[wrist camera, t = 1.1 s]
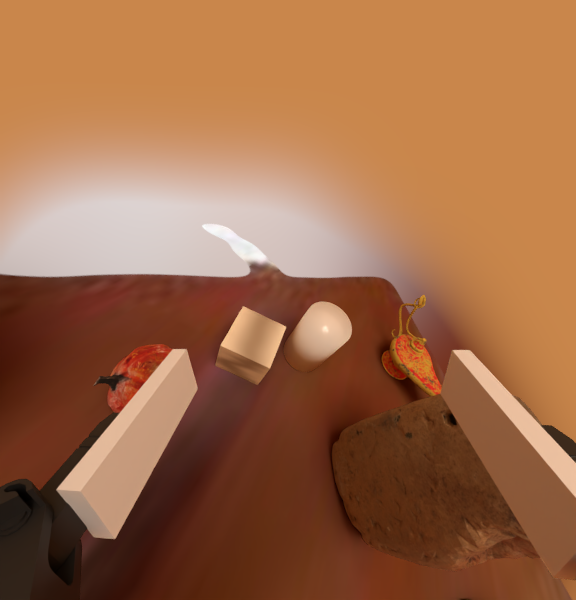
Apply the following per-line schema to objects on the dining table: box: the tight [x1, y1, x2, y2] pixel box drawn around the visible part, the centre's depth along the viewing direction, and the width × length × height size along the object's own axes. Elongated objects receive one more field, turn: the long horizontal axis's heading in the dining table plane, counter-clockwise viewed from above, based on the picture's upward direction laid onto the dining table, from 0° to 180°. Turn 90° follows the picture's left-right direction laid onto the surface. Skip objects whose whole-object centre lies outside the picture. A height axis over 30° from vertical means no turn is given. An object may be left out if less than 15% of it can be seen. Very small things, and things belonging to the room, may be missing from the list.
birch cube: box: [215, 307, 286, 385], centre depth 31 cm, size 6×6×6 cm
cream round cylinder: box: [283, 302, 352, 372], centre depth 33 cm, size 6×6×9 cm
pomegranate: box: [94, 344, 173, 413], centre depth 25 cm, size 7×7×10 cm
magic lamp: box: [382, 295, 442, 397], centre depth 36 cm, size 7×18×11 cm, turn 13°
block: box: [332, 394, 542, 571], centre depth 22 cm, size 11×8×20 cm
